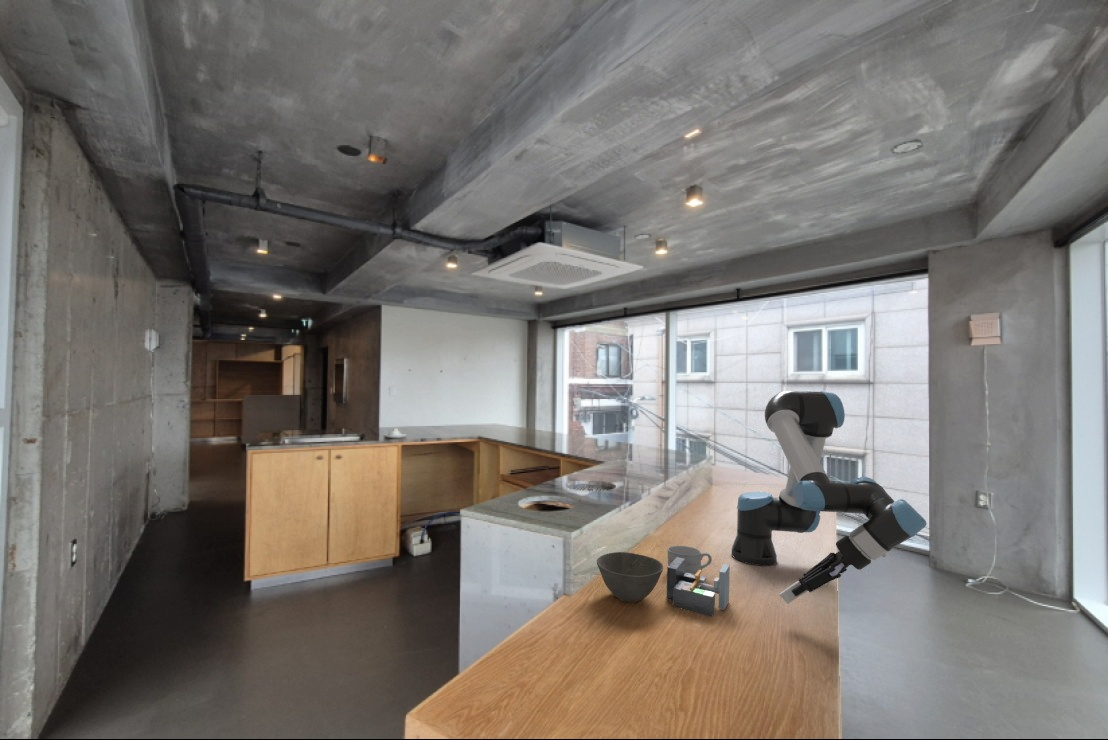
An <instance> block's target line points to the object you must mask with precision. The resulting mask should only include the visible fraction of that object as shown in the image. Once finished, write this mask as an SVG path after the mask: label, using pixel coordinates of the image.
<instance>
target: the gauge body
mask: <svg viewBox="0 0 1108 740" xmlns="http://www.w3.org/2000/svg"><path fill="white" fill-rule="evenodd" d="M666 570H667V571H666V600H668V601H672V607H673V608H677V609H680V608H682V609H681V610H684V609H685V611H688V610H689V611H688V612H691V613H692V612H693V613H695V612H696V613H695V614H700V615H703V616H708V617H711V618H713V615H714V614H715V613H716V612H715V611H716V609H715V608H716V607H715V606H716V593H714V592H710V591H706V590H702V589H701V585H697V584H696V586H695V587H694V588H693V590H690V587H691V585H692V584H693V583H694V581H695V580H696V578H695V574H690V573H685V559H684V558H679V557H677V558H676V559H675V560H674V561H673V562H672V563H671V564H670V565H669V566H667V567H666ZM699 582H700V583H704V584H707V576H703V575H700V581H699ZM697 583H698V582H697Z"/></svg>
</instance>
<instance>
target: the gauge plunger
mask: <svg viewBox="0 0 1108 740" xmlns="http://www.w3.org/2000/svg"><path fill="white" fill-rule="evenodd" d="M730 569H731V568H730V564H727V563H723V565H722V567H721V568H720V570H719V576H718V577H717V576H716V577H714V579H713V585H712V584H708V583H706V584H704V583H700V582H698V583H697V585H701V589H702V590H706V591H710V592H714V593H715V594H718V609H719V610H723V611H725V609H726V608H727V606H728V603H729V600H730Z"/></svg>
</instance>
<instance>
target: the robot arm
mask: <svg viewBox="0 0 1108 740" xmlns="http://www.w3.org/2000/svg"><path fill="white" fill-rule="evenodd" d="M845 414H846V413H845V407H844V405H843V402H842V400H841V398H840V397H839V396H838V395H837V394H836V393H833V392H827V391H807V390H806V391H805V390H804V391H803V390H784V391H781V392H778V393H777V394H775V395H774V396H772V397H771V398H770V399H769V401H768V402H767V404H766V406H765V409H764V420H765V423H766V426H767V428H768V429H769V431H771V432H772V433H774V435H775V437H776V439H777V441H778V443H779V445H780V448H781V449H782V451H783V453H784V456H785V458H786V460H787V462H788V464H789V471H788V476H787V481H786V485H785V488H783V489H781V490H780V492H779V496H778V497H773V495H772V494H771V493H770V492H766V491H765V492H764V491H750V492H743V493H742V494H740V495H739V496H738V499H737V500H738V501H737V506H736V510H737V514H736V515H737V521H736V522H737V524H736V526H737V527H736V536H735V539H734V541H733V545H732V546H731V547H732V548H731V556H732V555H733V556H734V557H735V558H736V559H735V558H734V557H733V556H732V557H733V558H734V559H735V560H737V559H738V561H739V560H740V561H739V562H742V561H743V563H745V562H746V563H745V564H749V565H754V566H763V567H765V566H766V567H767V566H774V565H776V564H777V561H778V560H777V552H776V549H775V546H774V543H773V538H772V534H773V533H772V532H774V531H775V532H787V533H789V532H790V533H799V534H803V533H813V532H815V530H817V528H818V527H819V524H820V520H821V515H820V514H821V512H823V513H824V512H825V513H827V512H828V513H845V514H862V515H864V516H865V517H866V518H867V519H868V520H867V521H865V522H863V523H862V524H860V525H859V526H858V527H856V528H855V529H853V530H852V531H850V532H849V535H845V536H843V537H842V538H840V539H839V540H837V541H836V542H835V546H836V548H837V552H836V553H835V552H829V553H828V555H827V556H826V557H824V558H823V559H821V561H819V562H818V563H816V564H815V565H813V567H811V568H810V569H809V570H807V571H806V572H804V573H803V575H802V577H801V578H800V577H799V578H798V579H797V581H796V582H794V583H793V584H791V585H790V586H788V587H787V588H785V589H783V590H782V591H781V592H780V593H779V596H780V597H781V599H783V601H784V602H785V603H786V604H787V605H789V604H790V603H792V602H793V601H794V600H796V599H797V598H799V597H801V596H802V595H804V594H806V593H807V592H809V593H813V591H816V590H818V589H819V588H821V587H823V586H825V585H827V584H828V583H830V582H831V581H833V580H836V579H838V578H841V577H842V574H844V573H845V572H846V571H848V570H847V568H848V567H849V566H852V567H854V568H855V569H856V570H857V571H858V570H862V569H864V568H866V567H867V566H869V565H870V564H871V563H872V560H873V561H876V560H877V559H878V558H880V557H883V558H885V557H886V556H887V554H886V553H888V552H891V550H893V549H894V548H895V547H897V546H899V545H901V544H902V543H904V542H906V541H907V540H909V539H911V538H914V537H915V536H916V535H917V534H918V533H919V532H921V531H922V530H923V529H924V528H926V527H927V524H928V523H927V521H926V519H925V518H924V517H923V516H922V515H921V514H920V513H919V511H917V510H916V509H915V508H914V507H913V506H912V505H910V503H908V502H907V500H905V499H902V498H900V499H898V500H896V501H895V500H894V499H893V498H892V497H891V496H890V495H889V494H888V492H887V491H886V490H885V489H884V487H883V486H881V485H880V484H879V483H878V482H877V481H875V480H874V479H873V478H871V477H868V476H860V477H858V478H857V477H856V478H853V479H852V480H851V481H850V482H849V483H845V482H832V481H831V479H830V478H829V476H828V474H827V473H826V471H825V468H824V467H823V465H822V464H821V461H822V455H823V452H824V448H825V443H826V439H828V438H830V437H832V436H833V432H834V429H838V428H841V427H842V426H843V425H844V422H845Z"/></svg>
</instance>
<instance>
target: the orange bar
mask: <svg viewBox="0 0 1108 740" xmlns="http://www.w3.org/2000/svg"><path fill="white" fill-rule="evenodd" d="M702 572H703V569H702V570H698V572H697V573H696V574H695V578H696V580H695V581H694V583H693V584H692V585H691V587H690V590H693V588H694V587H695V586H696V584H697V582H699V581H700V576H701V575H702Z"/></svg>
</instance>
